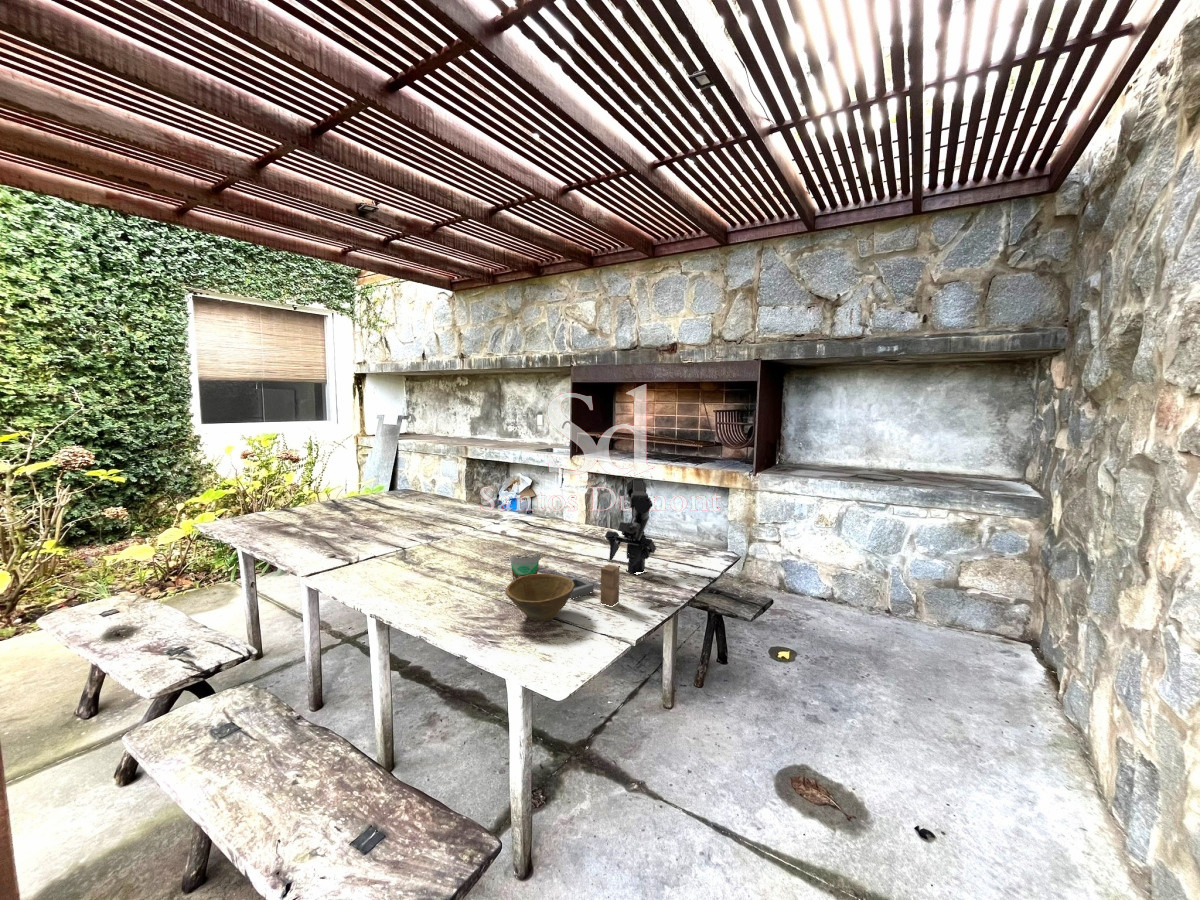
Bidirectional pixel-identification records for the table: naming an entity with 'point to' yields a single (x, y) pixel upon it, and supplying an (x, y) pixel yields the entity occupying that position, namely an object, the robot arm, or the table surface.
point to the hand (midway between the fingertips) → (621, 562)
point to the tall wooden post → (609, 585)
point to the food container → (524, 565)
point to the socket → (581, 587)
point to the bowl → (540, 595)
